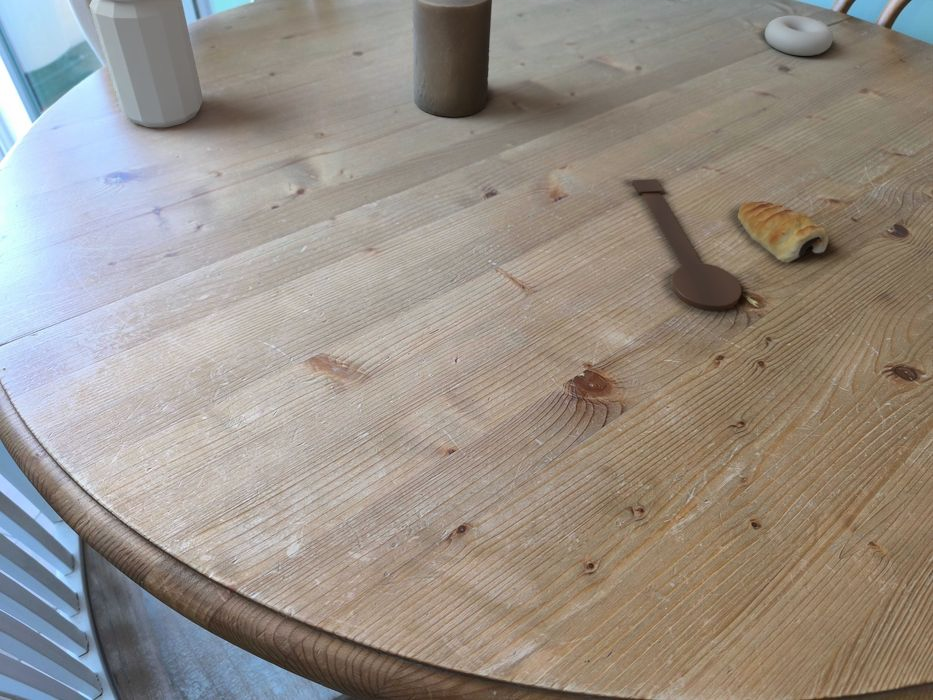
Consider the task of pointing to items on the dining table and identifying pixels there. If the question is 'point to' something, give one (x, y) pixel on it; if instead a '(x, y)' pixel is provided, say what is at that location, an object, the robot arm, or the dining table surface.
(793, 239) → the pastry
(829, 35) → the donut
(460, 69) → the pillar candle
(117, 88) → the jar
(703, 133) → the dining table surface
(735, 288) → the spoon
